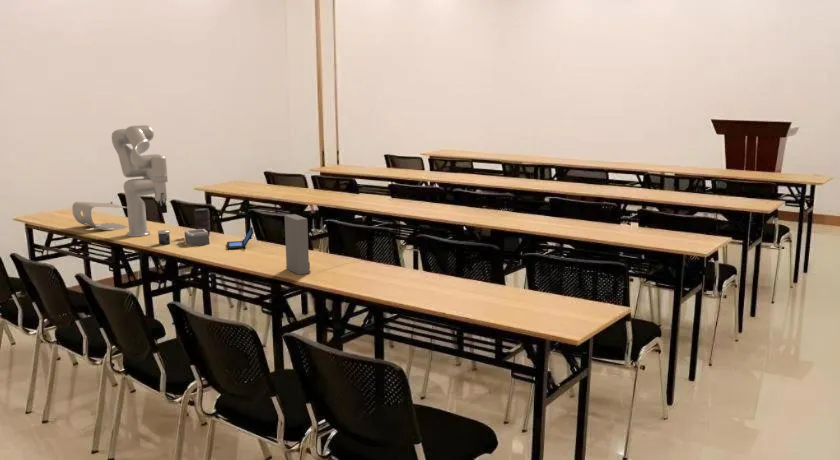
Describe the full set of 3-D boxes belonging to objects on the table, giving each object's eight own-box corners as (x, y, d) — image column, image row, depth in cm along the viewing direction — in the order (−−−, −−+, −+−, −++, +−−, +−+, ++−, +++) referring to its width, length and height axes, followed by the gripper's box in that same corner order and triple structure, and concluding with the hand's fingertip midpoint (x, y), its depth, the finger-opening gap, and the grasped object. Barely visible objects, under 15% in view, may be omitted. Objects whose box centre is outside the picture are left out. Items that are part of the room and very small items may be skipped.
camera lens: (213, 234, 409) (211, 208, 406) (207, 237, 401) (205, 210, 398) (199, 233, 409) (197, 207, 406) (193, 236, 401) (191, 210, 398)
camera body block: (185, 241, 390) (184, 229, 389) (203, 239, 395) (203, 228, 393) (190, 246, 378) (189, 234, 377) (209, 244, 382) (208, 232, 381)
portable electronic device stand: (73, 227, 428) (70, 202, 425) (111, 222, 446) (109, 197, 443) (93, 233, 412) (90, 206, 409) (132, 227, 429) (130, 201, 426)
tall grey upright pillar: (311, 273, 322) (309, 218, 317) (298, 275, 318) (296, 220, 313) (298, 267, 333) (296, 214, 328) (286, 268, 330) (284, 215, 325)
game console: (227, 244, 383) (226, 227, 381) (253, 242, 386) (252, 226, 384) (226, 250, 368) (226, 233, 366) (254, 249, 371) (253, 232, 370)
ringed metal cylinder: (158, 243, 384) (157, 230, 383) (169, 242, 387) (168, 229, 386) (159, 245, 379) (158, 232, 378) (171, 244, 382) (170, 231, 381)
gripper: (149, 178, 382) (152, 210, 385) (154, 181, 367) (157, 214, 370) (164, 177, 385) (167, 208, 389) (170, 180, 371) (172, 213, 374)
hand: (162, 211), depth 379 cm, fingers open, 9 cm apart
